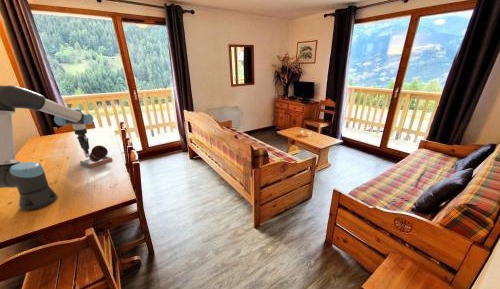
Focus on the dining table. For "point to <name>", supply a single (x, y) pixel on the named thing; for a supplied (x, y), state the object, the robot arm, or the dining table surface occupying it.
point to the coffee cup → (98, 153)
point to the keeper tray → (107, 159)
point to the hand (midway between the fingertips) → (87, 157)
